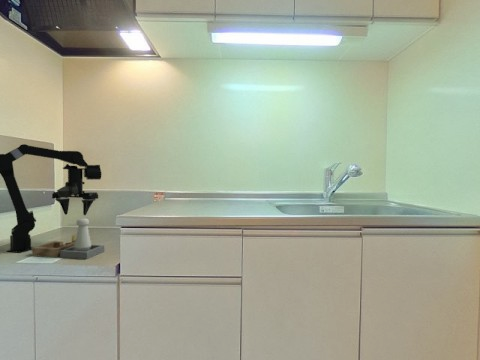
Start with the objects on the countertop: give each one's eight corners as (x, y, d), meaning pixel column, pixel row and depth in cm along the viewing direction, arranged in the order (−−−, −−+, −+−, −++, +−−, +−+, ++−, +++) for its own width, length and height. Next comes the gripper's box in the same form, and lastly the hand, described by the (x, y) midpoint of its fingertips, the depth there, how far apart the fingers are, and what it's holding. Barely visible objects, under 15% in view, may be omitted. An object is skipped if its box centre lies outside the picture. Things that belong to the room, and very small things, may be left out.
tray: (60, 257, 115) (60, 250, 115) (79, 249, 126) (79, 243, 126) (86, 259, 113) (86, 252, 113) (104, 251, 124) (104, 245, 124)
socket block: (32, 255, 116) (32, 247, 116) (54, 248, 128) (54, 241, 127) (57, 257, 115) (57, 249, 115) (77, 249, 126) (77, 242, 126)
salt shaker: (86, 249, 123) (87, 217, 123) (93, 251, 120) (94, 218, 119) (71, 251, 119) (71, 218, 118) (78, 254, 115) (78, 220, 115)
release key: (59, 249, 125) (59, 238, 125) (74, 244, 134) (74, 234, 134) (66, 250, 125) (66, 239, 125) (80, 244, 134) (80, 234, 134)
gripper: (42, 179, 128) (42, 216, 128) (82, 180, 125) (82, 218, 126) (61, 179, 139) (61, 213, 139) (98, 179, 136) (98, 214, 137)
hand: (75, 214), depth 135 cm, fingers open, 9 cm apart
